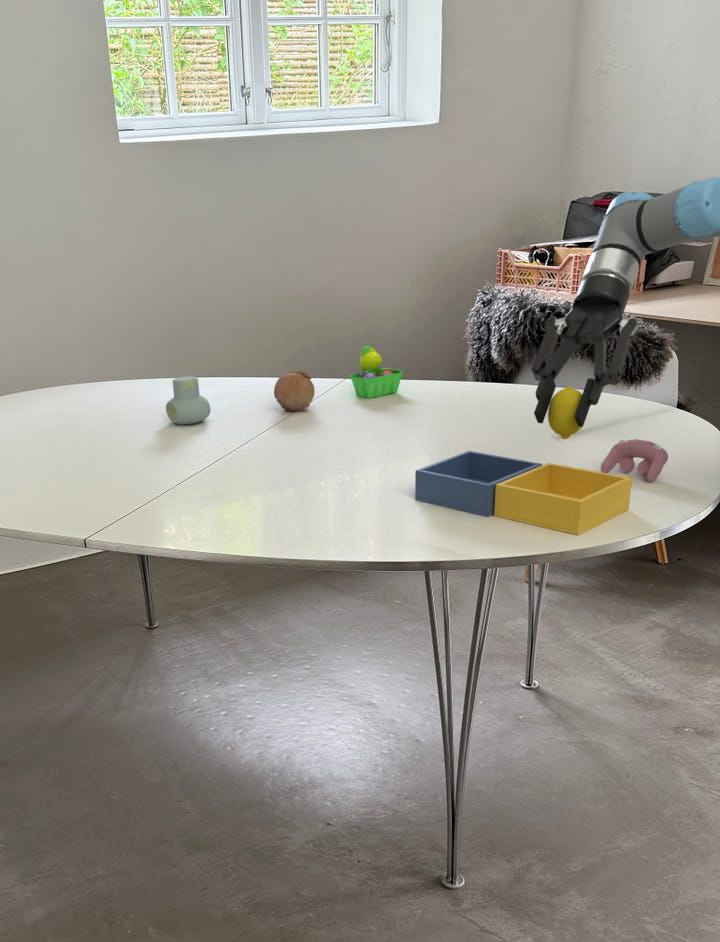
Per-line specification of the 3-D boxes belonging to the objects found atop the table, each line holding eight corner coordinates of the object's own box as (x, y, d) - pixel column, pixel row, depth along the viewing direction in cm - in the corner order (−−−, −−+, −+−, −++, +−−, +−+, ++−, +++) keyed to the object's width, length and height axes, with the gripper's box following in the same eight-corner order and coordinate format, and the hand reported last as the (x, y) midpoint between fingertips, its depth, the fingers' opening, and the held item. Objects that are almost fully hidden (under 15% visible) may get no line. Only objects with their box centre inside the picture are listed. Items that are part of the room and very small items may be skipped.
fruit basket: (367, 400, 229) (366, 352, 224) (346, 395, 236) (345, 348, 232) (404, 392, 234) (405, 345, 229) (383, 387, 241) (382, 341, 236)
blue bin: (540, 493, 158) (542, 463, 155) (488, 516, 149) (489, 485, 147) (467, 478, 168) (468, 450, 165) (414, 499, 159) (415, 470, 157)
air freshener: (214, 423, 219) (211, 379, 215) (181, 429, 216) (177, 384, 212) (196, 415, 228) (192, 372, 224) (164, 420, 225) (159, 377, 221)
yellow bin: (628, 509, 148) (632, 477, 145) (578, 535, 139) (581, 502, 137) (546, 492, 158) (548, 462, 156) (494, 515, 149) (495, 484, 147)
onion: (306, 419, 229) (321, 378, 227) (304, 417, 220) (320, 375, 218) (270, 405, 230) (284, 365, 227) (266, 403, 220) (281, 361, 218)
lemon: (539, 440, 145) (542, 387, 142) (558, 432, 148) (562, 380, 145) (571, 445, 141) (576, 391, 138) (591, 437, 145) (596, 384, 141)
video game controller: (661, 487, 161) (675, 447, 160) (651, 481, 157) (665, 440, 156) (607, 477, 168) (620, 438, 167) (596, 471, 164) (609, 432, 163)
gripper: (671, 304, 143) (625, 439, 138) (551, 303, 153) (505, 428, 149) (665, 271, 137) (617, 410, 132) (541, 272, 147) (493, 401, 143)
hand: (558, 419), depth 141 cm, fingers closed on lemon, 5 cm apart
